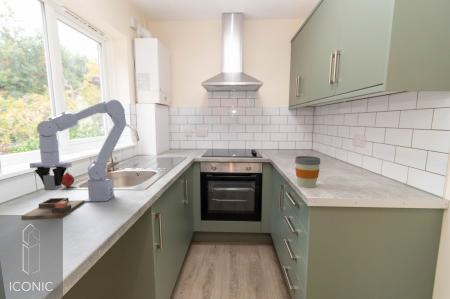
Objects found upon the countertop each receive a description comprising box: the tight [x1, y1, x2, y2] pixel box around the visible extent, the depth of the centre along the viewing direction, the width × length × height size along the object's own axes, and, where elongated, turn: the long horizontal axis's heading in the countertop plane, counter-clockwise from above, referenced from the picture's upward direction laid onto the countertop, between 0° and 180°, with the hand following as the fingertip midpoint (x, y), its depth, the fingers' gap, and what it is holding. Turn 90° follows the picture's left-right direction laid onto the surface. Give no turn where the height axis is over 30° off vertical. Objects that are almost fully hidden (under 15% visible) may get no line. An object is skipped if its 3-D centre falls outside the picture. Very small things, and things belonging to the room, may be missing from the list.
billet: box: [43, 172, 63, 191], centre depth 91 cm, size 4×4×6 cm
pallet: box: [20, 197, 86, 220], centre depth 87 cm, size 14×15×3 cm
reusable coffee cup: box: [294, 155, 321, 189], centre depth 120 cm, size 13×12×15 cm
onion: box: [61, 171, 75, 188], centre depth 117 cm, size 6×6×8 cm
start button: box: [55, 201, 67, 208], centre depth 84 cm, size 3×3×2 cm
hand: (52, 185), depth 91 cm, fingers closed on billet, 4 cm apart
